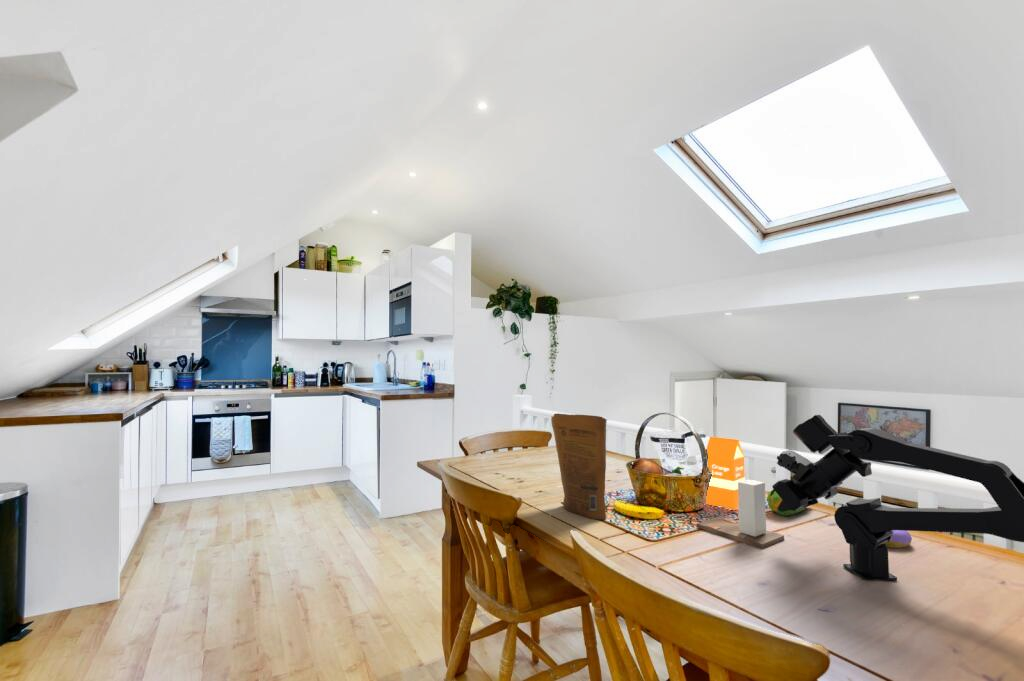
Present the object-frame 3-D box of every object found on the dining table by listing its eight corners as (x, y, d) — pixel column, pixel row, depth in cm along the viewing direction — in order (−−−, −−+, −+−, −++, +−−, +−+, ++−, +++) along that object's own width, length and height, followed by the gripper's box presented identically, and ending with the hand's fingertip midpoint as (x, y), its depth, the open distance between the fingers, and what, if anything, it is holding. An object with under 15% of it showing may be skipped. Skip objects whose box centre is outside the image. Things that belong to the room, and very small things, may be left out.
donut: (877, 531, 119) (880, 513, 119) (918, 552, 111) (922, 533, 110) (849, 536, 116) (853, 517, 115) (890, 558, 107) (894, 538, 107)
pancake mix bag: (599, 524, 125) (598, 417, 126) (549, 507, 140) (549, 411, 141) (615, 519, 129) (614, 415, 130) (565, 503, 144) (565, 410, 145)
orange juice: (734, 511, 136) (733, 441, 137) (704, 504, 142) (703, 437, 143) (745, 506, 141) (744, 438, 142) (716, 499, 148) (715, 435, 149)
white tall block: (766, 532, 115) (764, 482, 116) (755, 536, 113) (753, 485, 113) (750, 527, 119) (748, 479, 119) (738, 531, 116) (737, 482, 116)
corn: (759, 486, 134) (795, 477, 145) (758, 513, 134) (794, 501, 145) (786, 494, 128) (822, 484, 139) (785, 522, 128) (820, 509, 139)
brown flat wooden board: (784, 539, 114) (784, 534, 114) (762, 548, 109) (762, 543, 109) (719, 520, 128) (719, 515, 128) (696, 527, 123) (696, 522, 123)
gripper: (820, 436, 112) (774, 475, 121) (780, 444, 102) (733, 485, 110) (860, 477, 105) (808, 514, 114) (822, 489, 95) (768, 530, 103)
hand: (779, 509), depth 110 cm, fingers closed
